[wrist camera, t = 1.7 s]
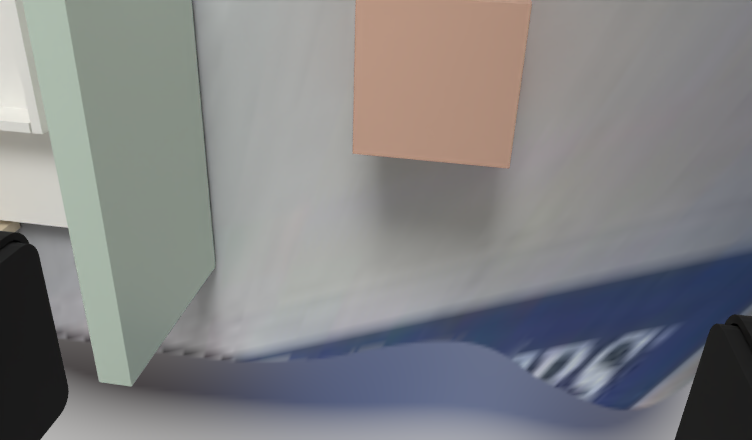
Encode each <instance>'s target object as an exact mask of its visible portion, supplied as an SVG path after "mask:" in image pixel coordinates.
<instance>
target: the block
mask: <svg viewBox="0 0 752 440" xmlns="http://www.w3.org/2000/svg"><path fill="white" fill-rule="evenodd" d="M531 6H532V3H531V0H356V11H355V62H354V112H353V154H362V155H372V156H383V157H393V158H404V159H414V160H425V161H435V162H446V163H456V164H467V165H477V166H488V167H498V168H509V167H510V160H511V152H512V145H513V138H514V131H515V123H516V116H517V109H518V101H519V94H520V87H521V79H522V72H523V65H524V58H525V50H526V43H527V36H528V28H529V21H530V14H531Z"/></svg>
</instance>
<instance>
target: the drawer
mask: <svg viewBox="0 0 752 440" xmlns="http://www.w3.org/2000/svg"><path fill="white" fill-rule="evenodd" d="M0 220H4V221H13V222H22V223H30V224H39V225H48V226H57V227H66V228H68V230H69V235H70V240H71V244H72V249H73V254H74V259H75V264H76V269H77V274H78V279H79V284H80V289H81V294H82V299H83V304H84V309H85V314H86V319H87V324H88V329H89V334H90V339H91V344H92V349H93V353H94V358H95V363H96V368H97V373H98V378H99V382H103V383H111V384H118V385H125V386H132V385H133V384H134V382H135V381H136V379H137V378H138V376H139V375H140V374H141V372H142V371H143V370H144V368H145V367H146V365H147V364H148V362H149V361H150V360H151V358H152V357H153V355H154V354H155V352H156V351H157V350H158V348H159V347H160V345H161V344H162V342H163V341H164V340H165V338H166V337H167V335H168V334H169V332H170V331H171V330H172V328H173V327H174V325H175V324H176V322H177V321H178V320H179V318H180V317H181V315H182V314H183V312H184V311H185V310H186V308H187V307H188V305H189V304H190V302H191V301H192V300H193V298H194V297H195V295H196V294H197V292H198V291H199V290H200V288H201V287H202V285H203V284H204V282H205V281H206V280H207V278H208V277H209V275H210V274H211V272H212V271H213V270H214V268H215V256H214V245H213V233H212V222H211V211H210V200H209V189H208V178H207V166H206V155H205V144H204V133H203V122H202V111H201V100H200V88H199V77H198V66H197V55H196V44H195V33H194V21H193V10H192V0H0Z"/></svg>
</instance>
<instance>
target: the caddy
mask: <svg viewBox="0 0 752 440" xmlns="http://www.w3.org/2000/svg"><path fill="white" fill-rule="evenodd" d="M19 228H21V227H20V222H13V221H4V220H0V231H7V232H16V231H17V230H18V229H19Z"/></svg>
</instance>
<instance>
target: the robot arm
mask: <svg viewBox="0 0 752 440" xmlns="http://www.w3.org/2000/svg"><path fill="white" fill-rule="evenodd" d="M67 398H68V384H67V379H66V375H65V370H64V366H63V361H62V357H61V352H60V348H59V343H58V339H57V334H56V330H55V325H54V321H53V316H52V312H51V307H50V303H49V298H48V294H47V289H46V285H45V280H44V276H43V271H42V267H41V262H40V258H39V254H38V251H37V249H36V248H35V247H34V246H33V245H31V244H29V242H28V240H27V239H26V237H25V236H24V235H22V234H20V233H16V232H7V231H0V440H40V439H41V438H42V437H43V435H44V434H45V433H46V432H47V430H48V429H49V428H50V427H51V425H52V424H53V423H54V422H55V421H56V419H57V418H58V417H59V416H60V414H61V413H62V411H63V409H64V407H65V405H66V402H67ZM675 440H752V316H744V315H735V314H734V315H732V316H730V317H729V318H728V320H727V321H726V323H725V325H724V324H715V325H713V326H712V328H711V329H710V332H709V334H708V337H707V340H706V344H705V347H704V350H703V353H702V356H701V359H700V362H699V365H698V368H697V372H696V375H695V378H694V381H693V384H692V387H691V390H690V394H689V397H688V400H687V403H686V406H685V409H684V412H683V415H682V419H681V422H680V425H679V428H678V431H677V434H676V437H675Z"/></svg>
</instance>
